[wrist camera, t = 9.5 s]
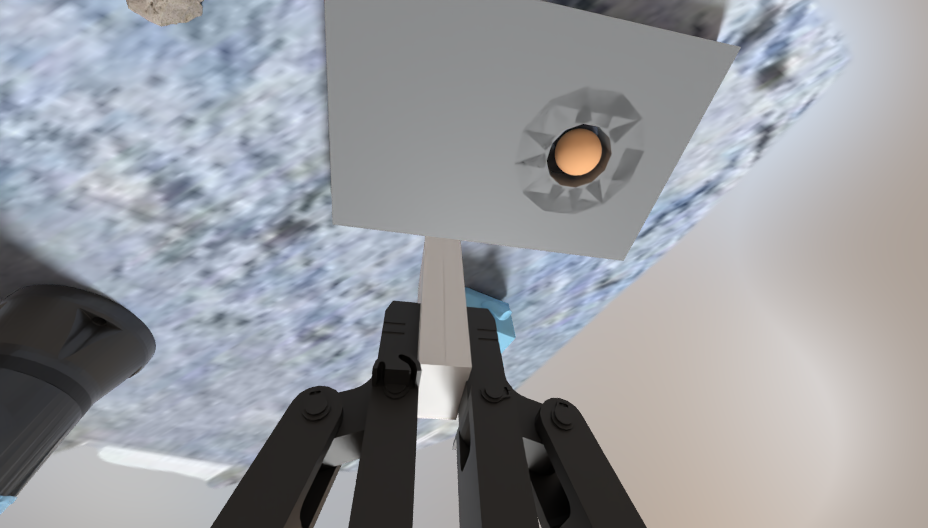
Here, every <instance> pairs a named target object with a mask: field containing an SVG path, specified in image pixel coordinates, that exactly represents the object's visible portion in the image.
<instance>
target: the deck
mask: <svg viewBox="0 0 928 528" xmlns="http://www.w3.org/2000/svg"><path fill="white" fill-rule="evenodd" d="M324 8H325V34H326V60H327V86H328V113H329V139H330V165H331V191H332V218H333V225H341V226H349V227H357V228H365V229H373V230H381V231H389V232H397V233H405V234H413V235H421V236H430V237H438V238H447V239H455V240H461V241H469V242H477V243H485V244H493V245H501V246H509V247H517V248H525V249H533V250H541V251H549V252H557V253H565V254H573V255H581V256H589V257H597V258H605V259H613V260H621V261H624V259H625V257H626V255H627V253H628V252H629V250H630V248H631V246H632V244H633V243H634V241H635V239H636V237H637V235H638V233H639V232H640V230H641V228H642V226H643V224H644V223H645V221H646V219H647V217H648V215H649V213H650V212H651V210H652V208H653V206H654V204H655V203H656V201H657V199H658V197H659V195H660V193H661V192H662V190H663V188H664V186H665V184H666V183H667V181H668V179H669V177H670V175H671V174H672V172H673V170H674V168H675V166H676V164H677V163H678V161H679V159H680V157H681V155H682V154H683V152H684V150H685V148H686V146H687V144H688V143H689V141H690V139H691V137H692V135H693V134H694V132H695V130H696V128H697V126H698V124H699V123H700V121H701V119H702V117H703V115H704V114H705V112H706V110H707V108H708V106H709V104H710V103H711V101H712V99H713V97H714V95H715V94H716V92H717V90H718V88H719V86H720V84H721V83H722V81H723V79H724V77H725V75H726V74H727V72H728V70H729V68H730V66H731V64H732V63H733V61H734V59H735V57H736V55H737V54H738V52H739V50H740V48H741V47H738V46H734V45H729V44H725V43H721V42H717V41H712V40H708V39H704V38H700V37H695V36H691V35H687V34H682V33H678V32H674V31H670V30H665V29H661V28H657V27H652V26H648V25H644V24H640V23H635V22H631V21H627V20H622V19H618V18H614V17H610V16H605V15H601V14H597V13H593V12H588V11H584V10H580V9H575V8H571V7H567V6H563V5H558V4H554V3H550V2H545V1H541V0H324ZM581 124H587V125H592V126H597V127H598V134H599V140H600V142H601V146H602V154H601V158H600V160H599V162H598V164H597V165H596V166H595V168H593V169H592V170H591V171H590V172H588V173H586V174H583V175H570V174H561V173H555V172H552V171H551V170H549V169H548V165H547V157H548V154H549V151H550V148H551V145H552V143H553V142H554V141H555V140H556V139H557V138H558V137H559V136H560V135H561V134H562V133H563V132H564V131H565V130H567V129H570V128H573V127H576V126H578V125H581Z"/></svg>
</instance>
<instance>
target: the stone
mask: <svg viewBox="0 0 928 528" xmlns="http://www.w3.org/2000/svg"><path fill="white" fill-rule="evenodd" d="M202 1H204V0H126V2H127V5H128V8H129V9H130V10H132V11H133V12H135V13H137V14H139V15H141V16H142V17H144V18H145V19H146V20H148V21H150V22H152V23H154V24H157V25H159V26H167V25H170V24H177V23H187V22H189V21H191V20H192V19H194V18H195V17H198V16H201V15H202V13H203V7H202V5H201V4H200V2H202Z"/></svg>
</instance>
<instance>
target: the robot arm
mask: <svg viewBox="0 0 928 528" xmlns="http://www.w3.org/2000/svg"><path fill="white" fill-rule="evenodd" d="M498 340H499V339H498V333H497V327H496V322H495V318H494V317H493V315H492V314H491V312H490V311H489V309H487V308H476V307H466V297H465V286H464V274H463V263H462V252H461V241H460V240H455V239H447V238H438V237H430V236H425V243H424V250H423V257H422V264H421V272H420V279H419V288H418V303H413V302H402V301H393V302H392V303H391V304H390V305H389V307H388V308H387V309H386V311H385V317H384V324H383V329H382V335H381V342H380V348H379V354H378V359H377V360H376V361H375V364H374V366H373V371H372V377H371V379H370V380H369V381H367V382H366V383H365V384H363V385H362V386H360V387H357V388H355V389H351V390H347V391H343V392H339V393H338V392H337V391H336V390H334V389H332V388H330V387H326V386H316V387H312V388H308V389H306V390H305V391H303V392H301V393H299V395H298V396H297V397H296V398H295V399H294V400H293V401H292V403H291V404H290V406H289V407H288V409H287V410H286V412H285V413H284V415H283V416H282V418H281V420H280V421H279V423H278V424H277V426H276V427H275V429H274V430H273V432H272V433H271V435H270V437H269V438H268V440H267V441H266V443H265V444H264V446H263V447H262V449H261V450H260V452H259V453H258V455H257V457H256V458H255V460H254V461H253V463H252V464H251V466H250V467H249V469H248V470H247V472H246V474H245V475H244V477H243V478H242V480H241V481H240V483H239V484H238V486H237V488H236V489H235V491H234V492H233V494H232V495H231V497H230V498H229V500H228V501H227V503H226V505H225V506H224V508H223V509H222V511H221V512H220V514H219V515H218V517H217V519H216V520H215V521H214V523H213V525H212V526H211V528H313V527H314V525H315V523H316V521H317V518H318V516H319V514H320V512H321V510H322V507H323V505H324V503H325V501H326V498H327V496H328V494H329V492H330V489H331V487H332V485H333V483H334V480H335V478H336V476H337V474H338V471H339V469H340V467H341V465H342V464H344V463H347V462H350V461H353V460H356V459H359V458H360V461H359V467H358V473H357V479H356V486H355V491H354V497H353V503H352V509H351V515H350V521H349V527H348V528H412V525H413V503H414V480H415V459H416V458H415V457H416V437H417V418H429V419H452V420H456V418H457V415H459V427H458V430H457V434H456V437H455V440H454V443H453V450H456V448H457V466H458V467H457V468H458V493H459V494H458V495H459V521H460V528H539V523H538V519H539V522H540V525H541V527H542V528H647V527H646V526H645V524H644V522H643V520H642V519H641V517H640V515H639V513H638V512H637V510H636V508H635V506H634V505H633V503H632V501H631V500H630V498H629V496H628V494H627V493H626V491H625V489H624V488H623V486H622V484H621V482H620V480H619V479H618V477H617V475H616V473H615V472H614V470H613V468H612V466H611V465H610V463H609V461H608V460H607V458H606V456H605V455H604V453H603V451H602V449H601V447H600V446H599V444H598V442H597V440H596V439H595V437H594V435H593V433H592V432H591V430H590V428H589V426H588V425H587V423H586V421H585V420H584V418H583V416H582V415H581V413H580V412H579V410H578V409H577V408H576V407H575V406H574V405H573V404H571V403H570V402H568V401H566V400H563V399H561V398H550V399H548V400H546V401H545V402H544V403H543V404H542V403H539V402H536V401H534V400H531V399H528V398H526V397H524V396H521V395H520V394H518V393H517V392H516V391H514V390H513V389H512V387H511V386H510V384H509V383H508V382H507V380H506V377H505V373H504V367H503V362H502V356H501V350H500V344H499V342H498ZM155 349H156V344H155V340H154V337H153V335H152V333H151V332H150V330H149V329H148V327H147V326H146V325H145V324H144V323H143V322H142V321H141V320H140V319H139V318H138V317H136V316H135V315H134V314H133V313H131V312H130V311H128V310H127V309H125V308H124V307H122V306H120V305H119V304H117V303H115V302H113V301H111V300H109V299H107V298H104V297H102V296H99V295H97V294H94V293H91V292H88V291H85V290H81V289H77V288H73V287H68V286H61V285H47V284H44V285H33V286H28V287H24V288H21V289H19V290H17V291H15V292H14V293H13V294H11V295H10V296H8V297H7V298H6V299H4V300H3V301H1V302H0V514H1V513H2V512H3V511H4V510H5V509H6V508H7V507H8V506H9V505H10V504H12V503H13V502H14V501H15V500H16V499H17V497H16V496H17V495H18V494H19V492H20V491H21V490H22V489H23V488H24V486H25V485H26V484H27V483H28V481H29V480H30V479H31V478H32V477H33V476H34V475H35V473H36V472H37V471H38V470H39V469H40V467H41V466H42V465H43V464H44V463H45V461H46V460H47V459H48V458H49V456H50V455H51V454H52V453H53V452H54V450H55V449H56V448H57V447H58V446H59V444H60V443H61V442H62V441H63V440H64V438H65V437H66V436H67V435H68V434H69V432H70V431H71V430H72V429H73V428H74V426H75V425H76V424H77V423H78V422H79V420H80V419H81V418H82V417H83V415H84V414H85V413H86V412H87V411H88V410H89V408H90V407H91V406H92V405H93V404H94V403H95V402H96V401H98V400H99V399H100V398H102V397H103V396H104V395H106V394H107V393H109V392H110V391H111V390H113V389H114V388H115V387H117V386H118V385H119V384H121V383H122V382H123V381H125V380H126V379H127V378H130V377H132V376H134V375H135V374H137V373H138V372H140V371H141V370H142V369H143V368H144V367H145V365H146V364H147V363H148V362H149V360H150V359H151V358H152V357H153V355H154V353H155ZM537 517H538V518H537Z"/></svg>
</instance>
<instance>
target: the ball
mask: <svg viewBox="0 0 928 528" xmlns="http://www.w3.org/2000/svg"><path fill="white" fill-rule="evenodd" d="M601 154H602V146H601V142H600V140H599V138H598V137H597V135H596V134H594V133H593V132H592V131H590V130H587V129H581V128H579V129H573V130H571V131H569V132H567V133H565V134H564V135H563V136H562V137H561V138H560V140H559V141H558V143H557V145H556V148H555V160H556V163H557V165H558V166H559V168H560V169H561V170H562V171H564V172H565V173H567V174H570V175H583V174H586V173H588V172H590V171H591V170H592V169H593V168H595V166H596V165H597V164H598V162H599V160H600V158H601Z"/></svg>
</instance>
